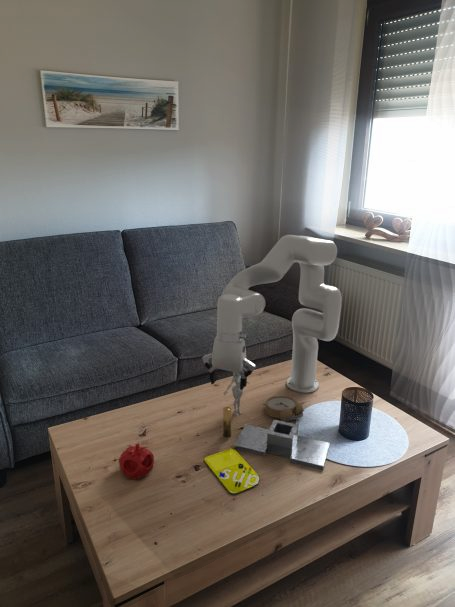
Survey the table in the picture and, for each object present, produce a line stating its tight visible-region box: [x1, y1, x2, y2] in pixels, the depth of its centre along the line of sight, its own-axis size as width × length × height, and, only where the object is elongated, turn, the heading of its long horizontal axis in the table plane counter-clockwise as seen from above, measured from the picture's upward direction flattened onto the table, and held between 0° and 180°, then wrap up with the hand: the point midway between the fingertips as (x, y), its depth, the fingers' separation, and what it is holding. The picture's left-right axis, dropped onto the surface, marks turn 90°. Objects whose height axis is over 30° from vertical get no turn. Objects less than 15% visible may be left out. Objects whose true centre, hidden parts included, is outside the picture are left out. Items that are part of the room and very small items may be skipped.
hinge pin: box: [222, 406, 232, 439], centre depth 157 cm, size 3×3×10 cm
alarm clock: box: [262, 395, 305, 422], centre depth 171 cm, size 11×5×15 cm
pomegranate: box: [118, 441, 155, 480], centre depth 139 cm, size 10×10×9 cm
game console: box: [203, 448, 260, 496], centre depth 142 cm, size 18×11×2 cm, turn 30°
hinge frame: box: [233, 419, 330, 471], centre depth 151 cm, size 12×28×7 cm, turn 70°
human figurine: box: [223, 371, 250, 416], centre depth 168 cm, size 12×4×18 cm, turn 132°
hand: (228, 385), depth 152 cm, fingers open, 9 cm apart
